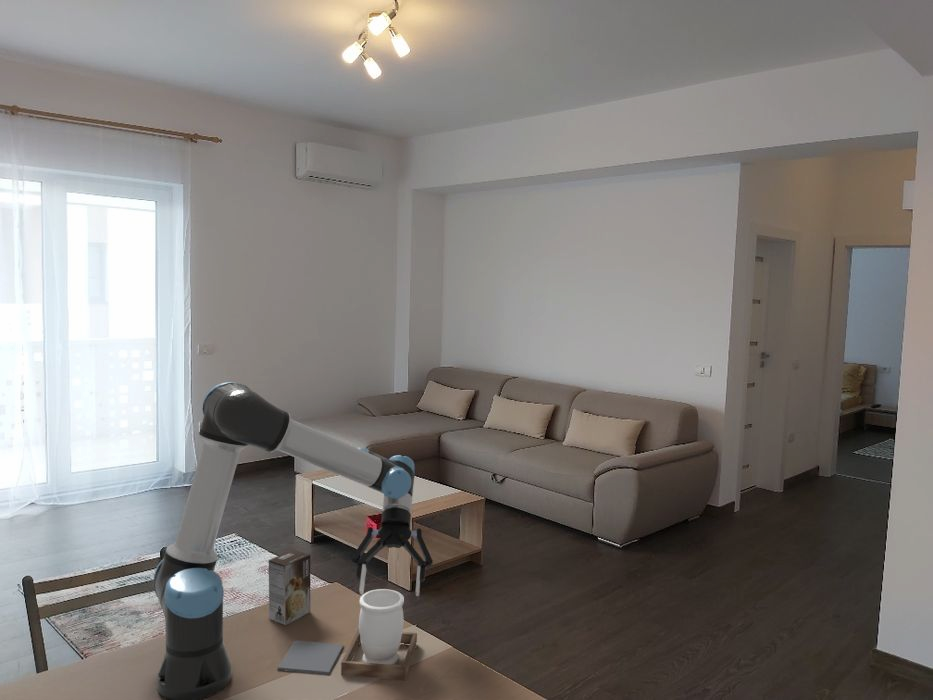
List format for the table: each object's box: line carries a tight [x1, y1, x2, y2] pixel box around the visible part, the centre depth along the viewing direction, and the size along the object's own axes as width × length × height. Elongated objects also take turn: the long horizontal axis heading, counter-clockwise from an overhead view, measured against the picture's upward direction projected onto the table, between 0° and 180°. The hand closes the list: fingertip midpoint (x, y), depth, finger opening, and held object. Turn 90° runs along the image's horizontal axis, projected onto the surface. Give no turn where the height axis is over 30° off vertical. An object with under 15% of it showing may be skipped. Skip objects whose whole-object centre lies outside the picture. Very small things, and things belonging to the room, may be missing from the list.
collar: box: [340, 627, 418, 682], centre depth 165 cm, size 15×16×3 cm
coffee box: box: [268, 549, 311, 626], centre depth 184 cm, size 9×6×16 cm
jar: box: [358, 588, 405, 665], centre depth 165 cm, size 11×10×15 cm
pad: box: [276, 640, 344, 675], centre depth 165 cm, size 12×12×1 cm
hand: (389, 593), depth 171 cm, fingers open, 13 cm apart
